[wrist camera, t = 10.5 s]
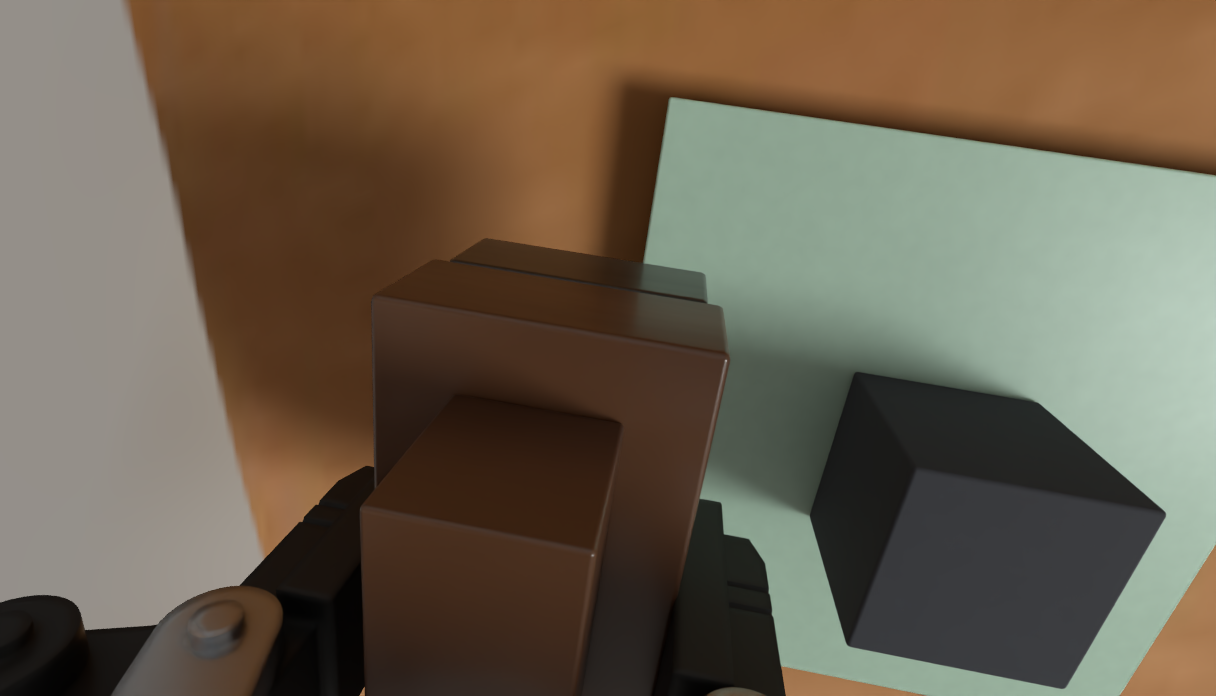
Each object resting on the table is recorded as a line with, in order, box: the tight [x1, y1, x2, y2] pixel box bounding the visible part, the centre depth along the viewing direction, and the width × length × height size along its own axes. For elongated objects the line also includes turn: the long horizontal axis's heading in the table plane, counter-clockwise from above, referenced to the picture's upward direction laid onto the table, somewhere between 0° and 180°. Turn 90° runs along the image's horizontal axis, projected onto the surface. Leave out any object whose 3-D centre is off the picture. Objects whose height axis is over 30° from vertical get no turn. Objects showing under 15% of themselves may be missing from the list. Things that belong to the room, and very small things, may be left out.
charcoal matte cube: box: [810, 372, 1166, 689], centre depth 12 cm, size 4×4×4 cm
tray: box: [643, 97, 1216, 696], centre depth 15 cm, size 14×14×1 cm
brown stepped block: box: [360, 238, 731, 696], centre depth 9 cm, size 9×4×6 cm, turn 173°
